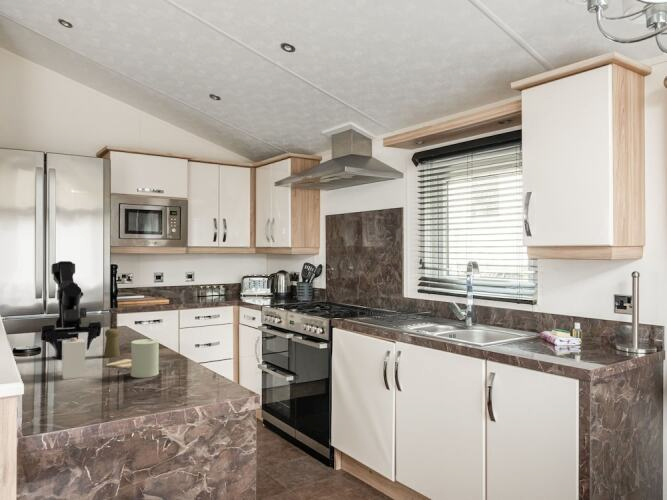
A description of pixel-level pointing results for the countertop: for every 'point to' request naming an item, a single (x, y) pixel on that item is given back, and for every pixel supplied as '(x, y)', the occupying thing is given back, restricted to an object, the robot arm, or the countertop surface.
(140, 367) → the can
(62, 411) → the countertop surface
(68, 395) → the countertop surface
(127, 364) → the coaster
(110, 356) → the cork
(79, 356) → the knobbed white block
